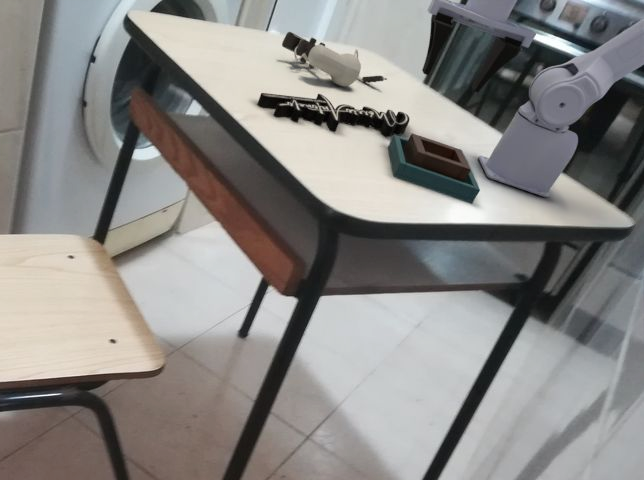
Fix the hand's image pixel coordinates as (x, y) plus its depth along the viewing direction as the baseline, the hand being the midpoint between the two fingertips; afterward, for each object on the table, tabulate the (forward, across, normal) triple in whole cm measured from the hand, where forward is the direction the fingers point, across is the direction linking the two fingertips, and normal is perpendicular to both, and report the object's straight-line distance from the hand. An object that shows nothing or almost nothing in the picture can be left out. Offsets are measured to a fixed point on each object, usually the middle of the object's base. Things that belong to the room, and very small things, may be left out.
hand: (450, 81), depth 96 cm
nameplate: (+10, +13, +2) cm, 16 cm away
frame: (+9, 0, +12) cm, 15 cm away
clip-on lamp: (+10, +14, -19) cm, 25 cm away
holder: (+9, 0, +12) cm, 16 cm away
